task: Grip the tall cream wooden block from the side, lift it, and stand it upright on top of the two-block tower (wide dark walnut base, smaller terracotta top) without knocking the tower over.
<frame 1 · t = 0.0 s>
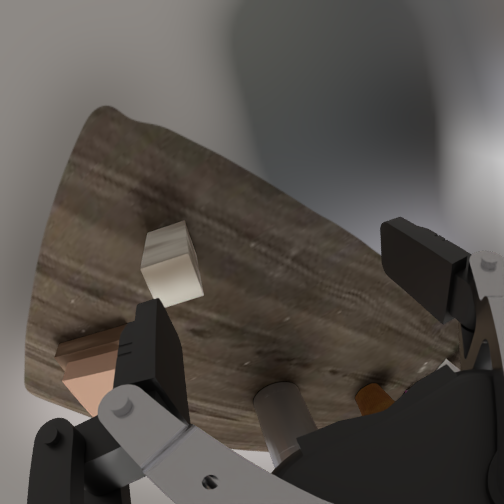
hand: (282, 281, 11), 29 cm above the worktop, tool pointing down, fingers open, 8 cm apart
cream block: (172, 244, 40), on the worktop
disposable coffee cup: (366, 392, 65), on the worktop
tower base block: (111, 361, 46), on the worktop, touching tower top block
tower top block: (109, 378, 42), point 3 cm above the worktop, touching tower base block
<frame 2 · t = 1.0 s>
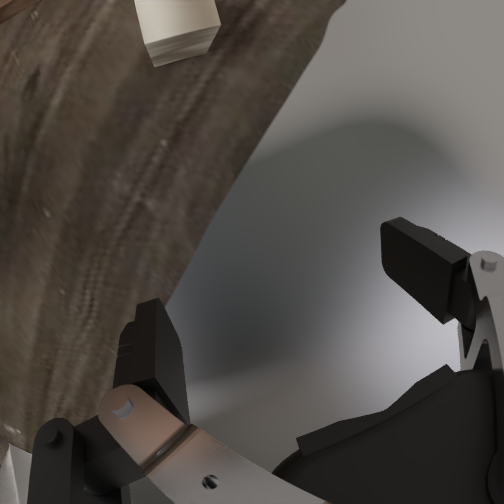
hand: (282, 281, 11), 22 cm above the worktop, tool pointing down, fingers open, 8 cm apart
cream block: (174, 37, 24), on the worktop
skyscraper: (20, 452, 42), on the worktop
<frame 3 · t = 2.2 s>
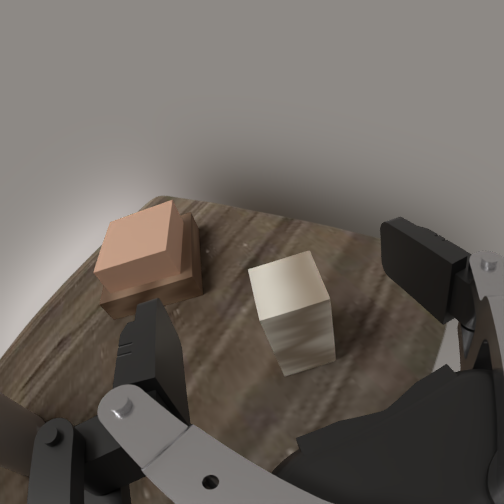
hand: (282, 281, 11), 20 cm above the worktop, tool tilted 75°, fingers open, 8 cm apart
cream block: (303, 346, 30), on the worktop
tower base block: (159, 274, 44), on the worktop, touching tower top block
tower top block: (147, 256, 41), point 3 cm above the worktop, touching tower base block
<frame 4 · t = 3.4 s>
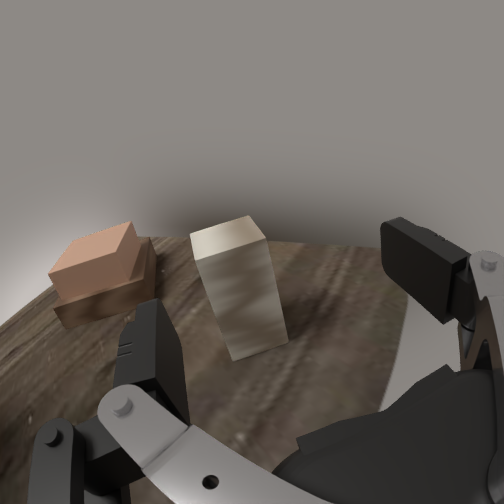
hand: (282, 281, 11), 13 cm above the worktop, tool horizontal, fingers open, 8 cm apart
cream block: (253, 334, 28), on the worktop
tower base block: (115, 293, 42), on the worktop, touching tower top block
tower top block: (102, 271, 39), point 3 cm above the worktop, touching tower base block
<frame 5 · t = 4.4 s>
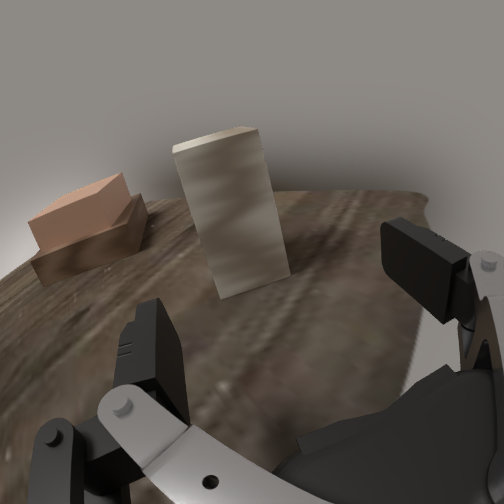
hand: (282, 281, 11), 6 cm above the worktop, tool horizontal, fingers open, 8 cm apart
cream block: (248, 270, 24), on the worktop
tower base block: (100, 251, 38), on the worktop, touching tower top block
tower top block: (88, 224, 35), point 3 cm above the worktop, touching tower base block
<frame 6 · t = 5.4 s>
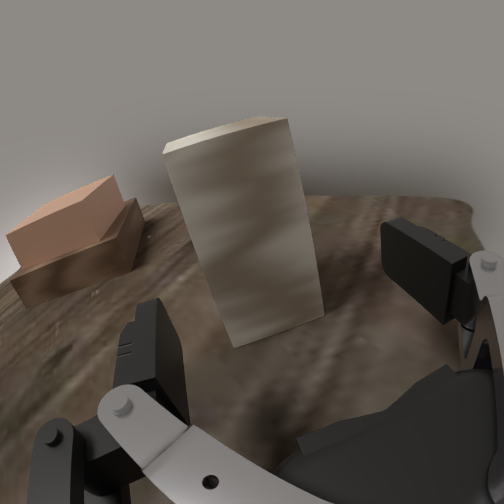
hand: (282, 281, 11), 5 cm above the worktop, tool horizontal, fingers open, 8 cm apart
cream block: (267, 305, 18), on the worktop
tower base block: (90, 265, 32), on the worktop, touching tower top block
tower top block: (75, 235, 30), point 3 cm above the worktop, touching tower base block
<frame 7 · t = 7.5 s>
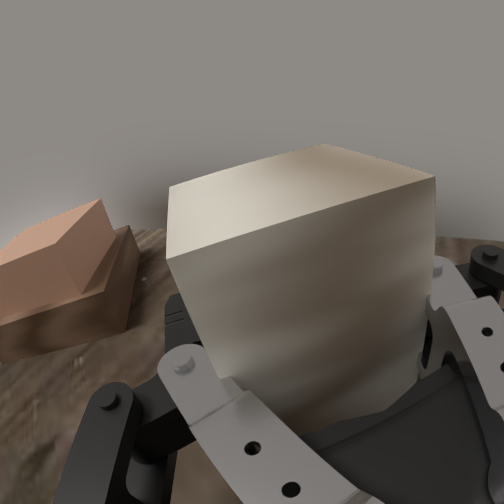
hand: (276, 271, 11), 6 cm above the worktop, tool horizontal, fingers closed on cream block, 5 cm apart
cream block: (320, 420, 12), on the worktop, touching gripper
tower base block: (76, 309, 26), on the worktop, touching tower top block
tower top block: (55, 275, 24), point 3 cm above the worktop, touching tower base block
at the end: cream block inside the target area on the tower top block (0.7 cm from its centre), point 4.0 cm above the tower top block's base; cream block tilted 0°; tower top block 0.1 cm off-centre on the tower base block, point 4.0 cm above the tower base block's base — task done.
